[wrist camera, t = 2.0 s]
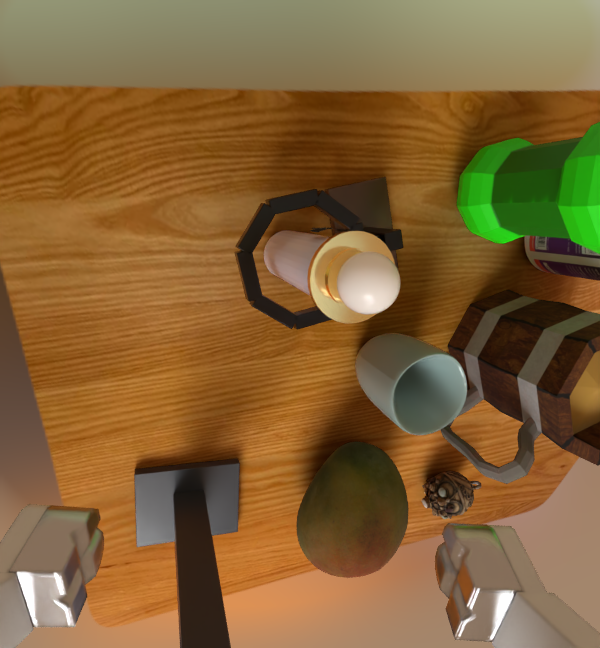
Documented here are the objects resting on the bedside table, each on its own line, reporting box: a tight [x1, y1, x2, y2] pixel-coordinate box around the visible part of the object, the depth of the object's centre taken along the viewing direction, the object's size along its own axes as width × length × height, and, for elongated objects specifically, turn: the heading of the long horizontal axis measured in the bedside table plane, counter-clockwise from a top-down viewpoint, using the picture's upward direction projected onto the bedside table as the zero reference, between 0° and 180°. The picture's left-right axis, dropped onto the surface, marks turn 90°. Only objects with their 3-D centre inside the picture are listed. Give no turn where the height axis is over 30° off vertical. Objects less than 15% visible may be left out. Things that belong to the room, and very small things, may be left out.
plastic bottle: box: [457, 122, 600, 254], centre depth 36 cm, size 10×10×25 cm
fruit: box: [297, 442, 408, 577], centre depth 46 cm, size 12×12×10 cm
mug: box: [441, 290, 600, 484], centre depth 46 cm, size 20×14×15 cm
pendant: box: [422, 471, 481, 519], centre depth 53 cm, size 5×8×5 cm, turn 102°
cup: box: [355, 333, 467, 435], centre depth 44 cm, size 8×8×10 cm
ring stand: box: [235, 177, 403, 329], centre depth 40 cm, size 16×11×7 cm, turn 102°
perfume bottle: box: [264, 227, 400, 323], centre depth 34 cm, size 6×6×20 cm
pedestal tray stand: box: [135, 458, 240, 648], centre depth 31 cm, size 12×10×32 cm
